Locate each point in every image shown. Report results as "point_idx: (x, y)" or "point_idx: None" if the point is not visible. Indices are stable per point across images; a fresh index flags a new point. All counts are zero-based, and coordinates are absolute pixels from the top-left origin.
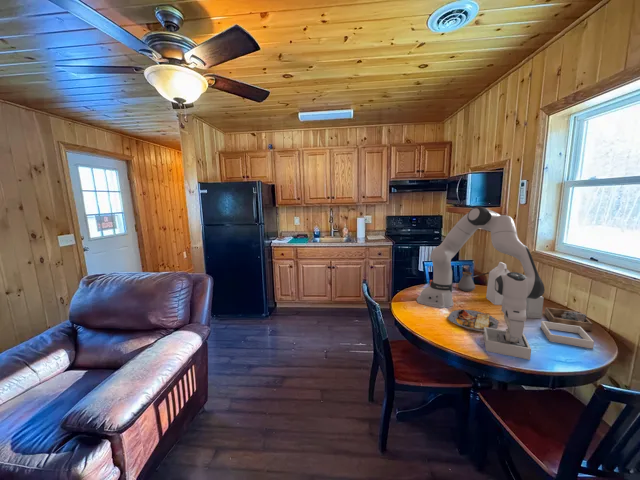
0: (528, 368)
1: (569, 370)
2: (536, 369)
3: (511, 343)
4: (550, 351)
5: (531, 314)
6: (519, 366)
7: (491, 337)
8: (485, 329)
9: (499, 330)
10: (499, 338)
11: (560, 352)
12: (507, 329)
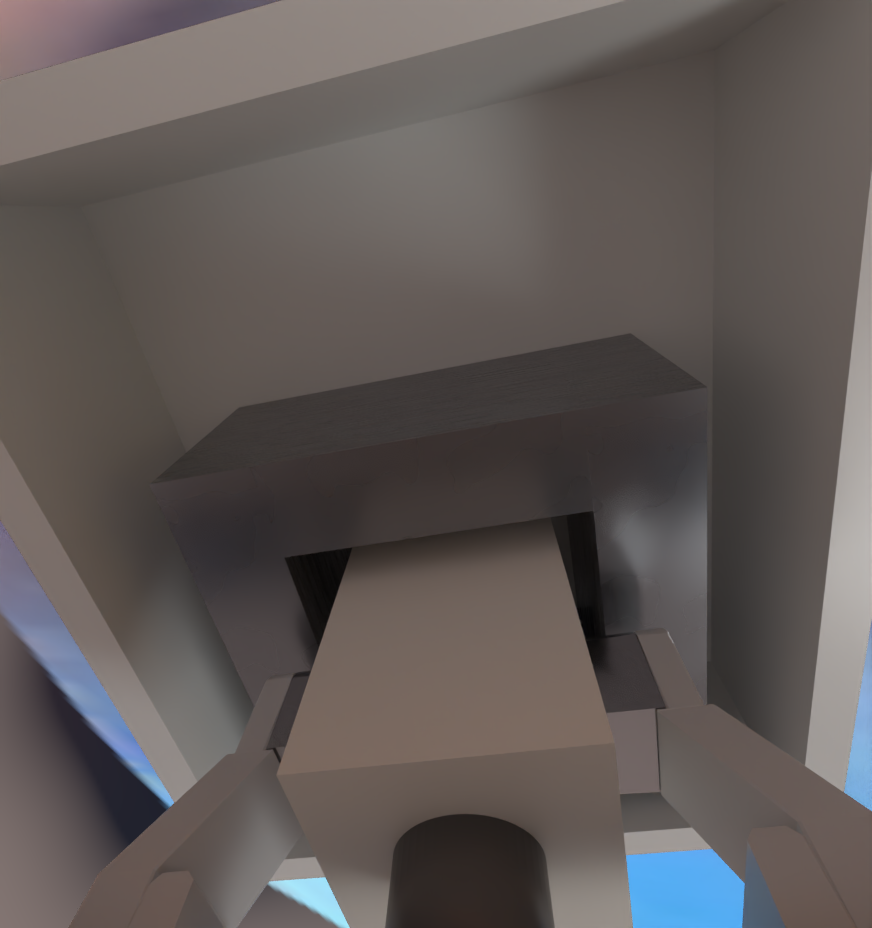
0: (69, 694)
1: (333, 918)
2: (119, 747)
3: (238, 664)
4: (647, 856)
5: None
6: (25, 625)
7: (708, 205)
8: None
9: (837, 425)
10: (340, 446)
11: (672, 909)
12: (566, 779)
